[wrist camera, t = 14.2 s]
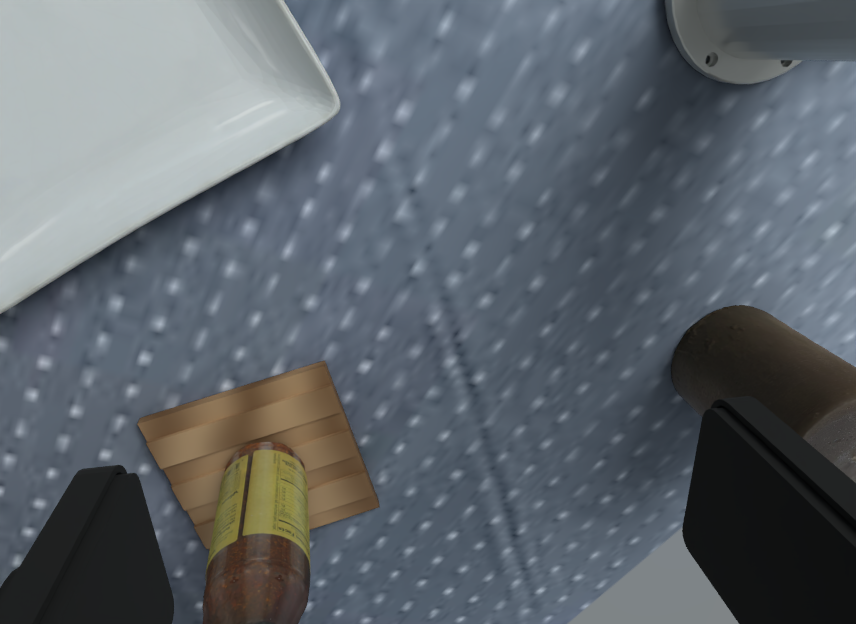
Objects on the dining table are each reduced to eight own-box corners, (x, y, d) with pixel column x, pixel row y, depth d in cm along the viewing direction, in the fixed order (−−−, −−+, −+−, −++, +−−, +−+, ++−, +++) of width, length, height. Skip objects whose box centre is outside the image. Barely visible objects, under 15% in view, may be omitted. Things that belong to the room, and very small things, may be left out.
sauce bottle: (239, 511, 47) (191, 791, 29) (212, 447, 45) (142, 712, 27) (321, 489, 48) (323, 752, 30) (299, 425, 45) (287, 671, 27)
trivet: (324, 360, 45) (324, 367, 44) (378, 500, 51) (379, 509, 50) (140, 418, 44) (136, 426, 43) (216, 553, 50) (214, 563, 49)
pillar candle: (673, 315, 48) (810, 421, 35) (785, 295, 49) (961, 390, 36) (666, 416, 52) (787, 546, 39) (770, 395, 53) (923, 515, 40)
